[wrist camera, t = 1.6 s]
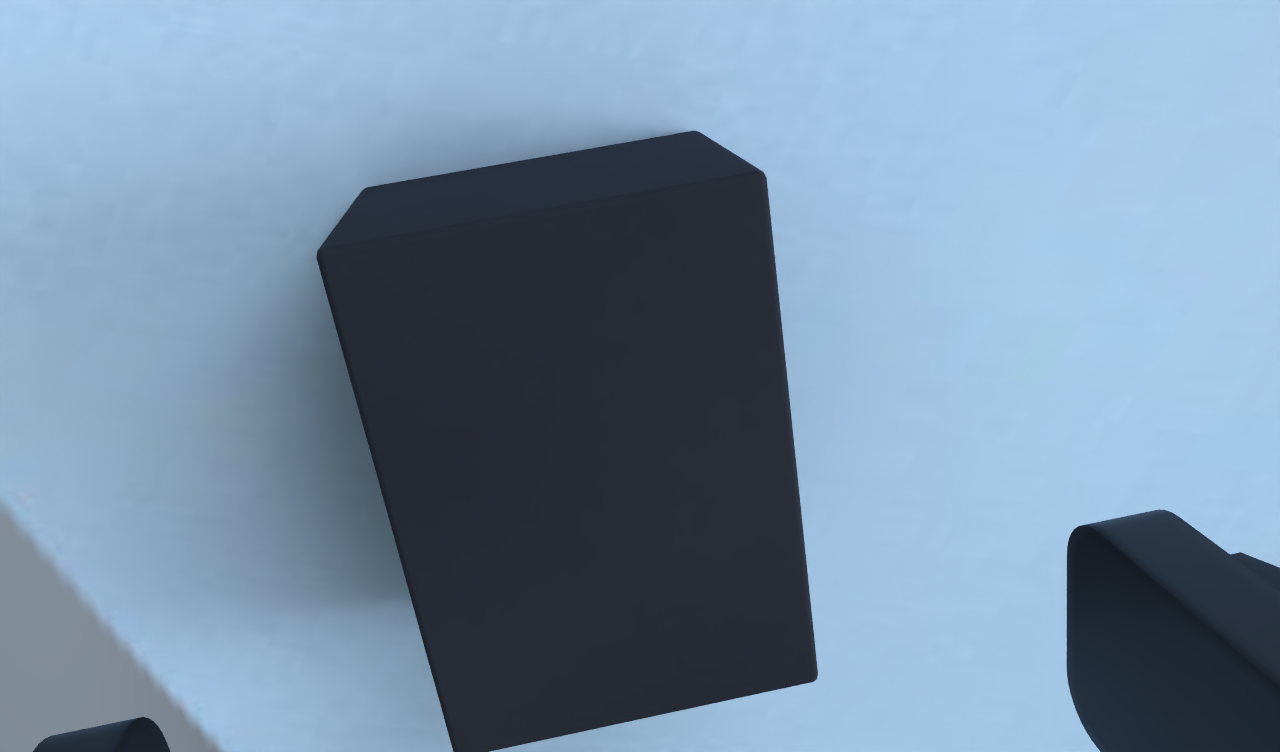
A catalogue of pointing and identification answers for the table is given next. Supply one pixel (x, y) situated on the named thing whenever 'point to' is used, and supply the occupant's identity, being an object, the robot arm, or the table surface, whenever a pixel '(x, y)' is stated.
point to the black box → (581, 432)
